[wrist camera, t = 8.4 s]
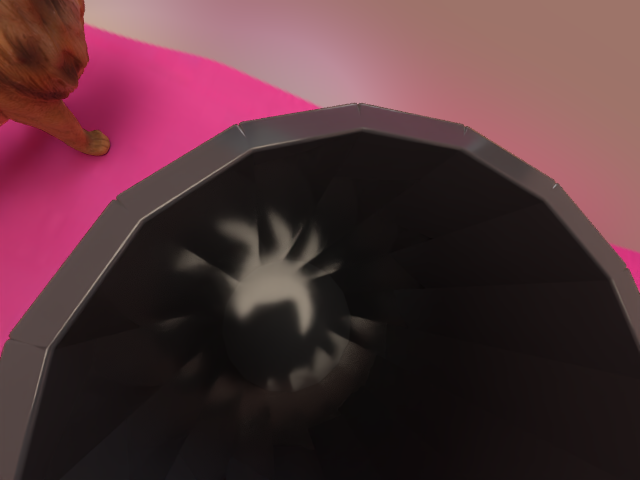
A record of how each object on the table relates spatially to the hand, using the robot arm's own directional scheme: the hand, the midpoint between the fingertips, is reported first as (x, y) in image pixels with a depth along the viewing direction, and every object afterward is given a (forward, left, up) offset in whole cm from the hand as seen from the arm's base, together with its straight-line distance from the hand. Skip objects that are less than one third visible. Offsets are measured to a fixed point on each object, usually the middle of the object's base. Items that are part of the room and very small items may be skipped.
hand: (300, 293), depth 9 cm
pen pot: (-1, 0, -7) cm, 7 cm away
